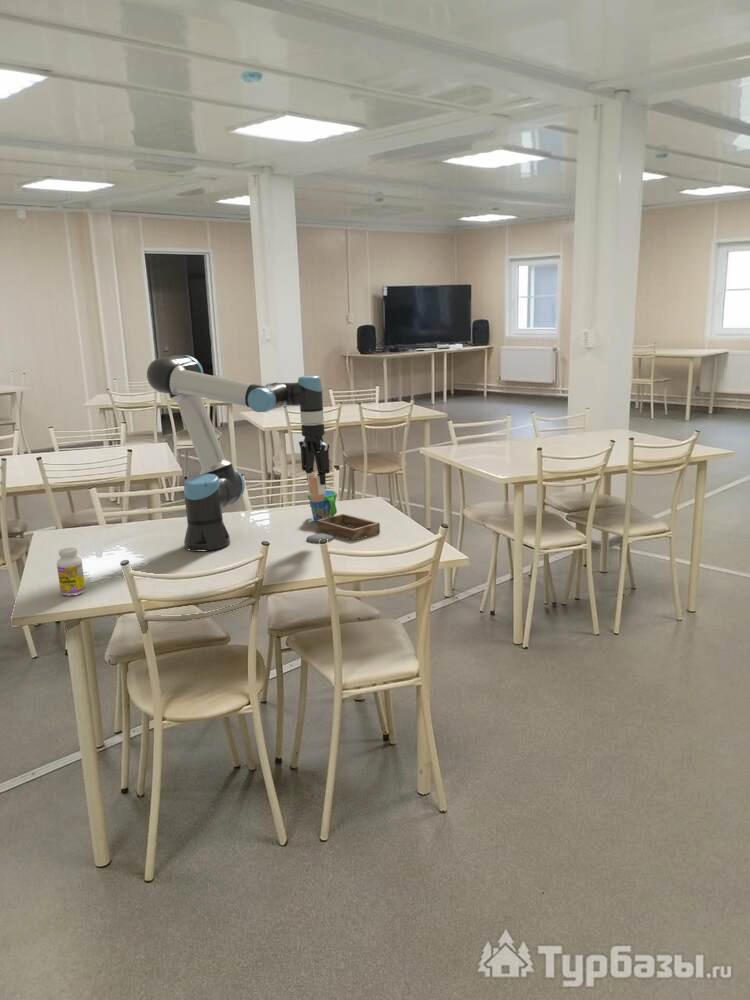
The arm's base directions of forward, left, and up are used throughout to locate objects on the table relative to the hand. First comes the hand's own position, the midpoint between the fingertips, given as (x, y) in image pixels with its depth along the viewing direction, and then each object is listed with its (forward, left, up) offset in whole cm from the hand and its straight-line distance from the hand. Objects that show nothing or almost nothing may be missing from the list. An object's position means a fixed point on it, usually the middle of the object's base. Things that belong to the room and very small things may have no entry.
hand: (317, 492), depth 257 cm
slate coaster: (0, 0, -16) cm, 16 cm away
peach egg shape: (0, 0, -3) cm, 3 cm away
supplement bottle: (-80, +12, -16) cm, 82 cm away
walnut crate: (+12, 0, -16) cm, 21 cm away
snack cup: (+16, +19, -16) cm, 30 cm away
